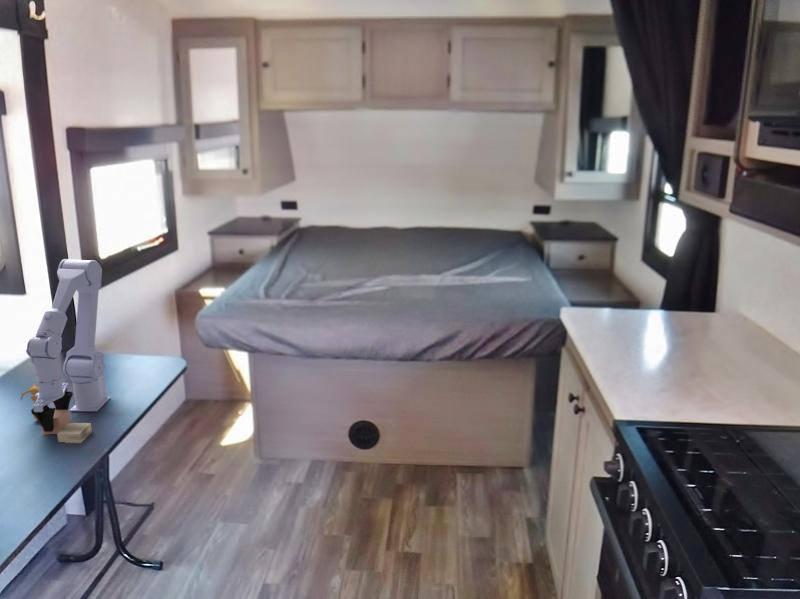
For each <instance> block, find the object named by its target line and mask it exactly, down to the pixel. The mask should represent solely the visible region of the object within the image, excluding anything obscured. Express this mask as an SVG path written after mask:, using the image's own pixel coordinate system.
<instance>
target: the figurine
mask: <svg viewBox="0 0 800 599" xmlns="http://www.w3.org/2000/svg"><path fill="white" fill-rule="evenodd" d="M29 393H30V394H31V395H32V396H30V398H31V401H33V405H34V404H35V403H36V401H37V398H38V397H35V395H36V394H37V393H39V390H38V384H36V383H32V386H31V388H30V389H27V390H25V391H24V392H22V393H21V396H20V398H19V399H20V400H19V401H20V402H22V401H23V397H24V395H26V394H29ZM32 417H33V418H34V419H35V420H36V421H39V420H38V419H37V418H36V417H35V416H34V415H33V414H32Z"/></svg>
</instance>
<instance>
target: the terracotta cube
mask: <svg viewBox="0 0 800 599" xmlns="http://www.w3.org/2000/svg"><path fill="white" fill-rule="evenodd" d="M69 411H70V410H69V409H68V410H56V409H55V412H54V418H53V422H54V429H53V431H52V432H45V431H44V429H43V428H42V427H41V428H42V429H41V431H42V434H43V435H49V434H57V433H58V432H59V431H60V430H62V429H63V428H64V427H65V426H66V425H67V424H68V423H71V418H70V412H69Z"/></svg>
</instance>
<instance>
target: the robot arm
mask: <svg viewBox="0 0 800 599" xmlns="http://www.w3.org/2000/svg"><path fill="white" fill-rule="evenodd" d="M56 274H57V275H56V276H57V278H58V280H59V282H58V285H57V289H56V292H55V296H54V299H53V302H52V306H51V309H48V310H46V311H44V314H43V316H42V319H41V322H40V324H39V326H38V329H37V331H36V334H35V336H33V337H31V338H30V339H29V340H28V342H27V345H26V349H25V352H26V354H27V356H28V357H29V358H30V360H31V363H32V364H33V365H34V371H35V372H34V373H35V377H36V382H37V384H36V385H37V387H38V390H39V393H37V394H36V395H35V397H38V398H37V400H36V403H35V404H34V403H33V406H32V408H31V410H30V411H31V412H30V413H31V414H32V416H33V415H34V416H35V417H36V418H37V419H38V420H37V421H38V422H39V423H40V425H41V428H43V429H44V431H45V432H52V431H53V429H54V422H53V418H54V412H55V410H68V411H70V412H98V411H99V410H100V409H101V408H102V407H103V406H104V405H105V404H106V403H107V402H108V401H109V400H110V399H111V396H108V392H107V385H106V379H105V377H104V375H103V374H104V371H105V367H106V366H105V362H104V352H102V351H101V349H99V348H98V347H96V334H97V333H96V331H97V320H98V318H97V316H98V307H99V306H98V305H99V304H98V303H99V290H100V289H101V288H102V278H103V277H102V275H103V268H102V267H101V264H100V263H99V262H98V261H97V260H95V259H91V260H85V259H69V258H64V259H61V261H60V262H59V264H58V268H57V272H56ZM76 291H77V293H78V295H77V309H76V323H75V324H76V325H75V335H74V336H75V338H74V346H72V348H70V349H69V350H68V351H66V353H65V354H66V357H65V360H64V362H63V366H62V371H63V374H64V375H65V377H68V378H69V381H71V382H72V388H73V391H69V390H70V388H69V387H70V386H69V382H62V374H61V370H60V369H61V368H60V362H59V355H60V354H61V351H62V349H63V345H62V341H63V337H62V334H63V331H64V329H65V327H66V324H67V321H68V317H67V314H66V312H67V310H68V307H69V305H70V304H71V302H72V299H73V297H74V296H75V293H76ZM73 396H74V401H75V402H74V403H75V405H73V407H71V408H70V403H71V401H72V400H71V399H72V397H73ZM51 403H53V405H54V407H50V406H48V405H49V404H51ZM69 408H70V409H69ZM34 416H33V417H34Z"/></svg>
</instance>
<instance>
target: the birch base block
mask: <svg viewBox="0 0 800 599" xmlns="http://www.w3.org/2000/svg"><path fill="white" fill-rule="evenodd" d="M92 429H93V428H92V423H91V422H89V423H88V422H70V423H68V424H67V425H66V426H65V427H64V428H63V429H62V430H60V431H59V432H58V433H57V441H58V443H59V442H65V443H67V444H82V443H83V441H85V440H86V439H87V438H88V437H89V436H90V435H91V434H92V433H93V430H92Z"/></svg>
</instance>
